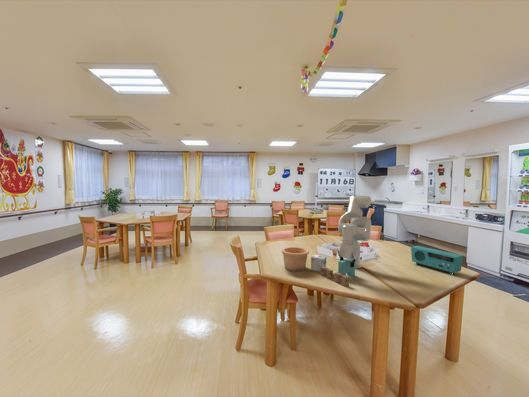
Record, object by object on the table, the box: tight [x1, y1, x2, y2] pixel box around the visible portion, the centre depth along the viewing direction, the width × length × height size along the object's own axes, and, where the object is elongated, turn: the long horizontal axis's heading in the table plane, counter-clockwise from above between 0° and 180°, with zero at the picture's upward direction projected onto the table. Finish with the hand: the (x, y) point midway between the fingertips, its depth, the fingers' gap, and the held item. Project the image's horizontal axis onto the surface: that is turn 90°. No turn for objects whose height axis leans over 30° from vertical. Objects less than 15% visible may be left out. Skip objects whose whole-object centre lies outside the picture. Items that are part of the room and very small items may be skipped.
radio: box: [410, 245, 464, 275], centre depth 192 cm, size 34×10×15 cm, turn 27°
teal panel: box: [337, 258, 356, 277], centre depth 175 cm, size 14×3×12 cm, turn 119°
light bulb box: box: [310, 254, 327, 272], centre depth 188 cm, size 11×7×11 cm, turn 59°
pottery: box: [281, 246, 310, 272], centre depth 193 cm, size 22×22×14 cm
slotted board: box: [319, 266, 350, 287], centre depth 168 cm, size 24×3×6 cm, turn 29°
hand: (346, 265), depth 174 cm, fingers open, 9 cm apart
